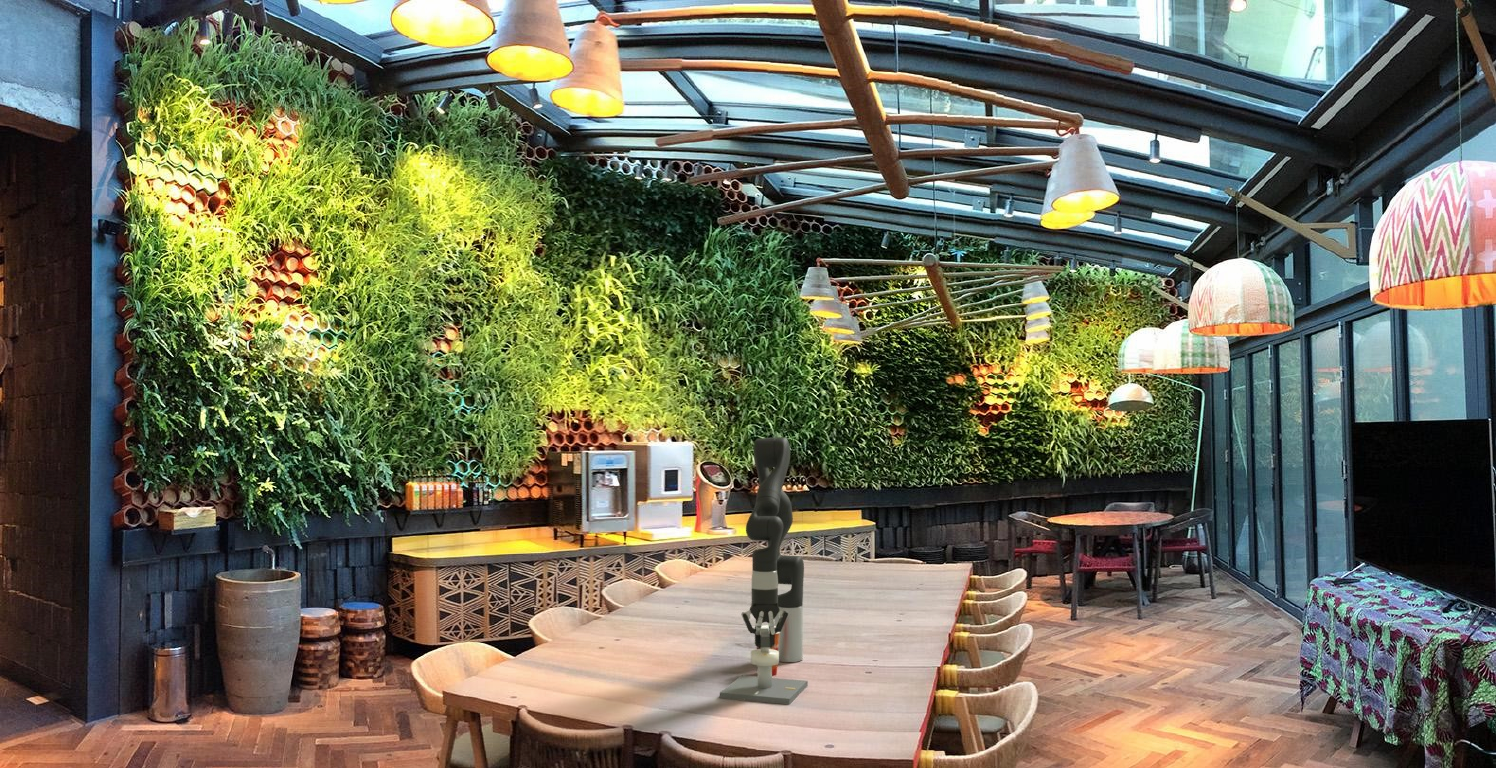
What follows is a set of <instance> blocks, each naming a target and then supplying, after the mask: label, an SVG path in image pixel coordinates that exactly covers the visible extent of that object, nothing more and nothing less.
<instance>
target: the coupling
mask: <svg viewBox="0 0 1496 768" xmlns="http://www.w3.org/2000/svg"><path fill="white" fill-rule="evenodd" d="M760 635H761V649H757V648H756V649H753V650H751V651H750V664H751V665H753V666H757V667H758V666H773V665H777V666H778V664H780V661H779V651H777V650H773V649H769V647H770V635H769V629H768V628H761V630H760Z"/></svg>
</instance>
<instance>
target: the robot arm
mask: <svg viewBox="0 0 1496 768" xmlns="http://www.w3.org/2000/svg"><path fill="white" fill-rule="evenodd" d="M789 442H790V441H789V440H788V438H786V437H779V436H777V437H761V438H756V440H755V441H754V442H753V456H754V463H755V469H756V473H757V477H758V483H759V486H758V489H757V490H756V491H757V493H756V497H755V498H756V499H755V506H754V508H753V510H752V512H751V514H750V516H749V517H748V519H747V521H746V525H745V532H746V533H745V534H746V535H747V537H748V539H750V540H752V541H757V542H758V541H762V542H763V541H764V542H767V547H763V548H758V549H754V551H753V552H752V557H751V559H752V564H751V565H752V571H751V605H750V607H749V610H746V611H745V612H744V611H743V612H741V617H742V619H743V622H744V623H745V626H746V628H747V631H748V632H749V633H750V634H754V645H755V647H756V649H757V648H761V635H760V630H761V626H763V625H762V624H763V623H767V625H768V626H769V632H770V633H769V635H770V648H773V646H774V645H775V634H776V633H777V632H780V633H779V646H778V651H779V662H784V663H795V662H796V663H797V662H800V661H803V656H804V655H803V651H804V650H803V649H804V648H803V647H804V645H803V640H804V639H803V638H804V637H803V636H804V634H803V625H804V622H803V621H804V619H803V617H804V616H803V612H804V611H803V609H804V608H803V605H804V604H803V602H804V598H803V597H804V576H805V563H804V560H803V558H802V557H801V556H799V555H782V554H781V551H780V550H781V545H782V543H783V541H784V540H785V537H786V535H787V534H788V533H789V531H790V529H791V527H792V525H793V521H794V520H793V519H794V518H793V515H794V514H793V508H792V502H791V500H790V497H789V496H788V495H787V494H786V492H785V491H784V490H783V486H784V481H785V479H786V476H787V472H788V469H789V467H790V460H791V446H790V445H791V444H790V443H789ZM769 468H774V469H773V470H772V471H771V472H770V469H769ZM779 585H789V586H790V585H791V588H790V590H789V591H786V592H783V593H781V594H779ZM751 615H752V617H753V618H754V619H755V621H754V622H755V623H754V628H753V626H752V623H751V621H750V619H751ZM774 626H776V627H775V628H774Z"/></svg>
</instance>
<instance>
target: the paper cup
mask: <svg viewBox="0 0 1496 768" xmlns="http://www.w3.org/2000/svg"><path fill="white" fill-rule="evenodd" d="M775 627H776V626H774V628H775ZM761 628H768V629H769V626H768V624H767V625H762V626H761ZM769 633H770V632H769ZM779 633H780V632H777V633H776V634H775V645H774V646H773V648H770V647H769V649H773V650H777V651H778V646H779ZM756 649H761V648H757V647H756ZM777 673H778V664H777V665H773V666H772V677H773V676H776V675H777Z"/></svg>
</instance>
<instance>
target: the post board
mask: <svg viewBox="0 0 1496 768" xmlns="http://www.w3.org/2000/svg"><path fill="white" fill-rule="evenodd" d="M808 683H809V682H808V680H801V679H792V678H778V677H773V676H772V666H757V676H756V675H755V676H754V675H744V674H743V675H741V676H739V677H738V678H737V679H736V680H734V681H733V682H731V683H730V684H729V685H728V686H726V687H725V688H724V689H722V690H721V691H720V692H719V699H725V700H726V699H728V700H738V701H750V702H759V703H760V702H761V703H771V704H783V705H791V703H792V702H794V701H795V700H796V699H797V698H798V696H799V695H801V693H802V692H803V691H805V689H806V688H807V687H808Z"/></svg>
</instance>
